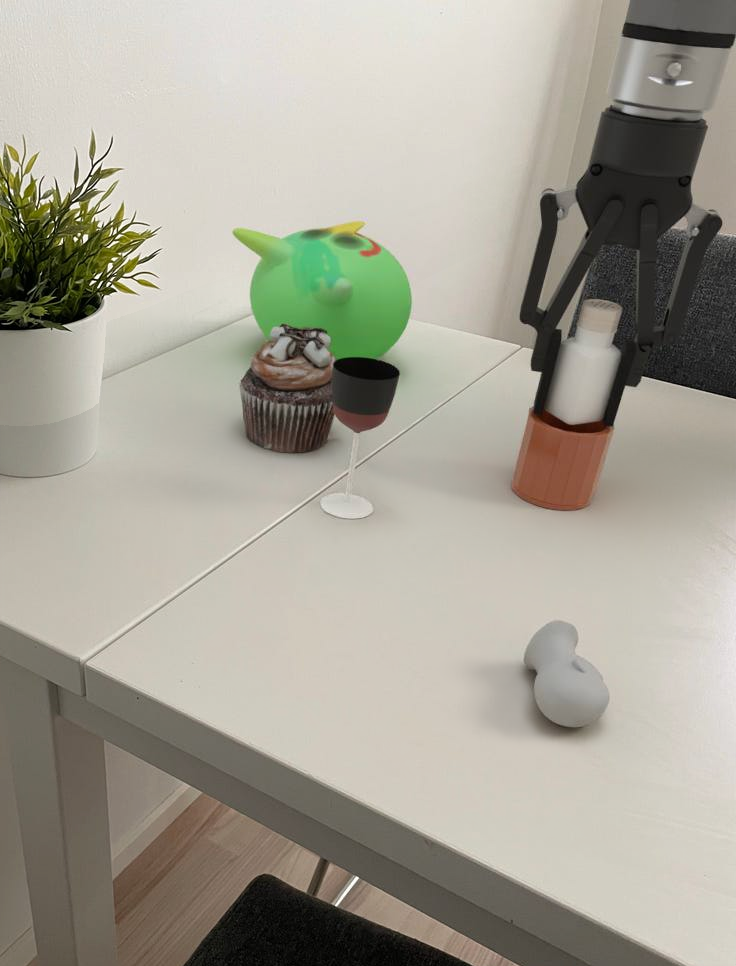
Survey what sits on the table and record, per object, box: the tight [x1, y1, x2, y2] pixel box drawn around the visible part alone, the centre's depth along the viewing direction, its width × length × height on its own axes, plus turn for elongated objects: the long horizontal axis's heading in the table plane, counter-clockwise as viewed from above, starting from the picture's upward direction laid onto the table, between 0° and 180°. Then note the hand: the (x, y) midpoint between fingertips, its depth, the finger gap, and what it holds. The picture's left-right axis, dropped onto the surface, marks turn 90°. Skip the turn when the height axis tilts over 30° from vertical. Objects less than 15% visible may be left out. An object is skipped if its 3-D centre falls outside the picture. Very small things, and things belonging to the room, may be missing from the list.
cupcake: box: [238, 324, 336, 454], centre depth 92 cm, size 10×10×10 cm
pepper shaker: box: [544, 298, 623, 425], centre depth 83 cm, size 4×4×10 cm
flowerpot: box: [510, 405, 615, 511], centre depth 88 cm, size 7×7×7 cm
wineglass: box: [319, 357, 401, 520], centre depth 81 cm, size 5×5×12 cm
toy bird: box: [232, 221, 413, 360], centre depth 108 cm, size 18×17×15 cm
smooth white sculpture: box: [523, 619, 610, 728], centre depth 64 cm, size 4×8×5 cm
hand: (572, 413), depth 85 cm, fingers closed on pepper shaker, 5 cm apart
